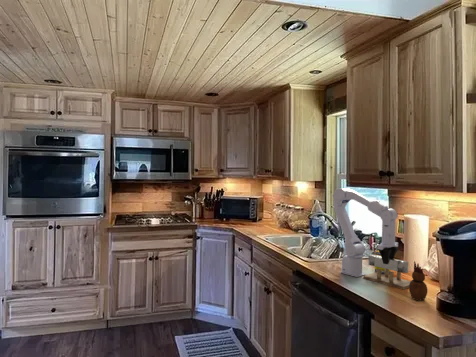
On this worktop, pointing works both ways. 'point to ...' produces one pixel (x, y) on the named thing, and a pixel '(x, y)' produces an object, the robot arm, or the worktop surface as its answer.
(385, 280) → the rack
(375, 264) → the grey long bar
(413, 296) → the wooden figurine
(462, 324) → the worktop surface
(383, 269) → the supplement box
